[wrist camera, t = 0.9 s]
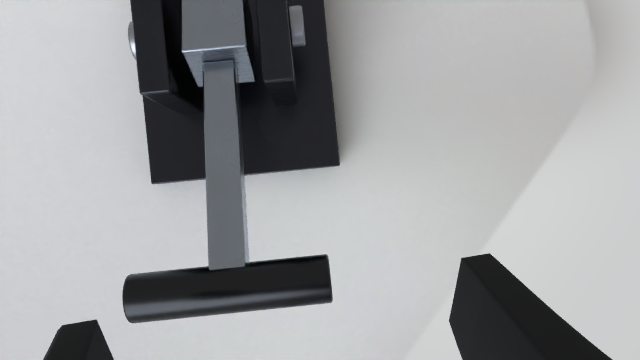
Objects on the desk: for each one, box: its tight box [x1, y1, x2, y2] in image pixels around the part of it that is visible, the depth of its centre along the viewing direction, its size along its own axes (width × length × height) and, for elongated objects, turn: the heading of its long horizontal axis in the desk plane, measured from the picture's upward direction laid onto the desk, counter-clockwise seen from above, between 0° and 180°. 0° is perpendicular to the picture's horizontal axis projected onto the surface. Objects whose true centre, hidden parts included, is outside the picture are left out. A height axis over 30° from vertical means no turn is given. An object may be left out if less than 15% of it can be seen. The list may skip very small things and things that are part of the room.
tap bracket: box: [128, 0, 340, 184], centre depth 21 cm, size 10×8×7 cm
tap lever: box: [123, 0, 333, 323], centre depth 18 cm, size 11×6×2 cm, turn 6°
